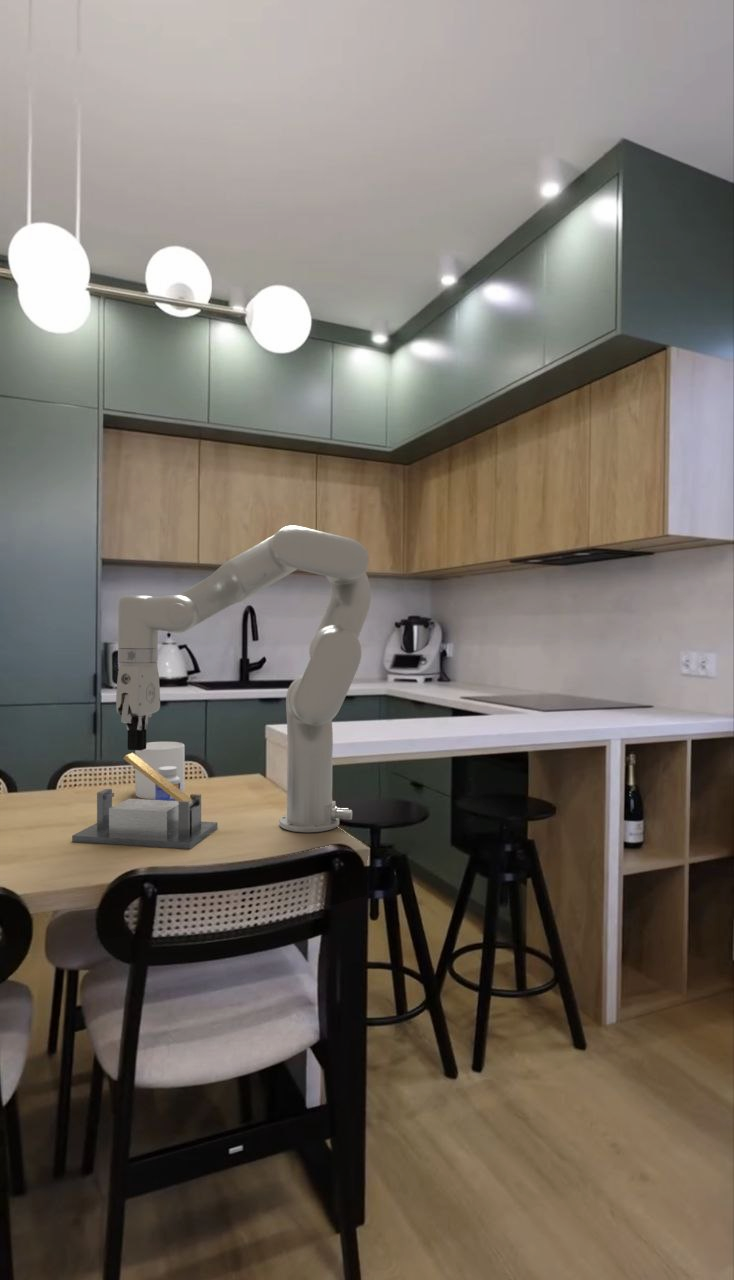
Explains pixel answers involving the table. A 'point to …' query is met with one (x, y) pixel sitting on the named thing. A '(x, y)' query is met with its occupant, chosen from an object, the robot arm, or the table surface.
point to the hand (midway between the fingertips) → (136, 749)
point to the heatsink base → (144, 839)
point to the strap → (158, 779)
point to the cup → (159, 765)
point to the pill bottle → (170, 775)
